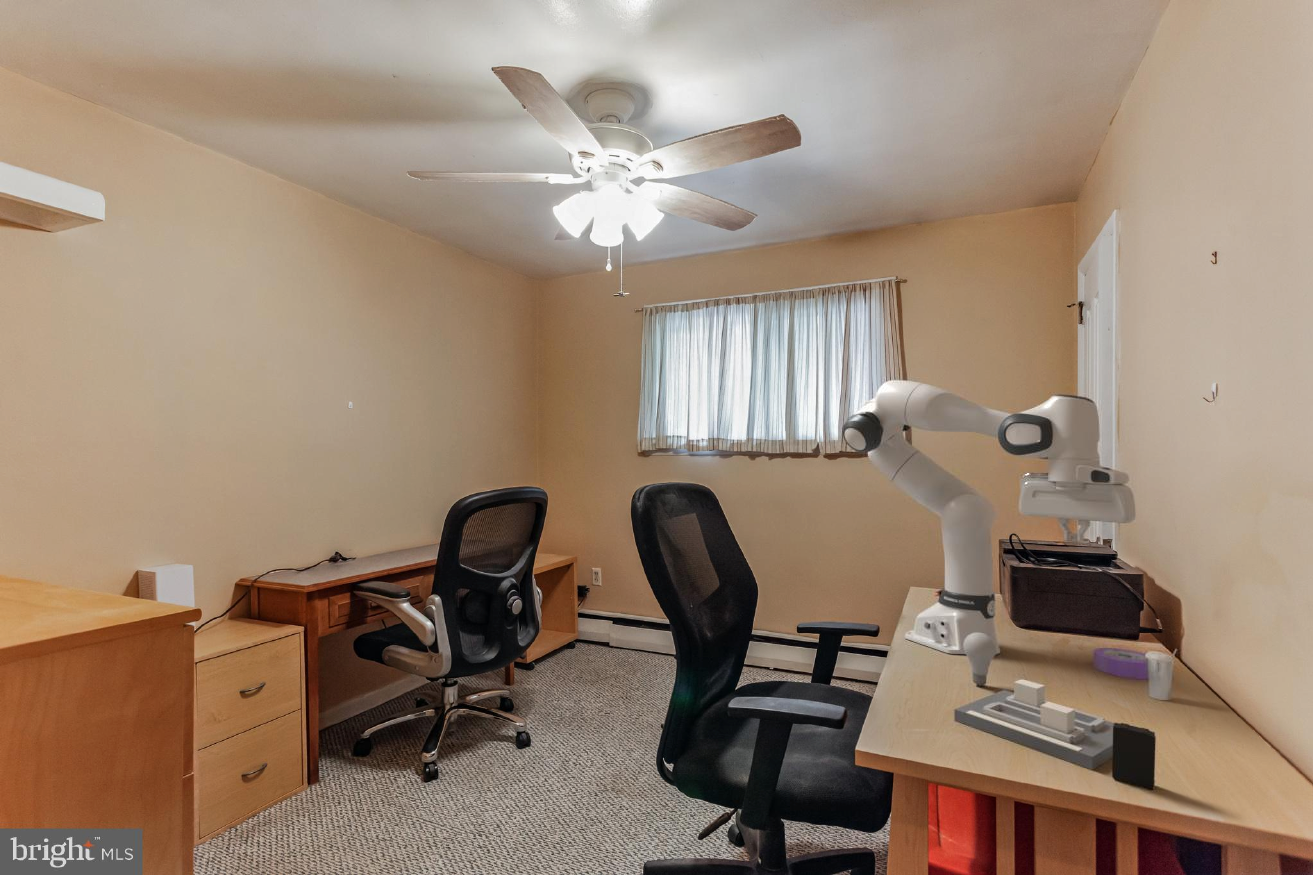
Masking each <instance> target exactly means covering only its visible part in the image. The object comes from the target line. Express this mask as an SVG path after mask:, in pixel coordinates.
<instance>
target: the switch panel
mask: <svg viewBox="0 0 1313 875" xmlns="http://www.w3.org/2000/svg"><path fill="white" fill-rule="evenodd" d="M1047 702H1049V701H1048V700H1045V703H1047ZM953 714H954V719H953V720H954V721H955V722H957V723H961V724H963V725H966V726H969V727H972V728H974V729H977V730H980V731H983V732H985V733H988V734H991V735H994V736H996V737H1000V738H1002V739H1005V740H1008V741H1011V742H1013V743H1016V744H1019V745H1022V746H1024V747H1027V748H1029V749H1032V750H1036V751H1038V752H1041V753H1043V754H1047V755H1049V756H1052V757H1054V758H1057V759H1061V760H1063V761H1065V762H1069V763H1071V764H1075V765H1077V766H1080V767H1082V768H1085V769H1088V770H1090V771H1093V770H1095V769H1097V768H1098V767H1100V766H1102V765H1103V764H1105V763H1106V762H1107V761H1108V762H1109V760H1111V759H1112V756H1113V726H1114V722H1112V721H1109V720H1105V717H1101V716H1099V715H1098V716H1097V715H1095V714H1091V713H1087V712H1084V711H1081V710H1078V709H1075V731H1074V732H1072V733H1070V734H1065V733H1062V732H1059V731H1056V730H1053V729H1050V728H1047V727H1044V726H1041V709H1040V708H1037V707H1034V706H1031V705H1028V704H1024V703H1021V702H1018V701H1015V700H1014V692H1012V691H1009V690H1006V689H1003V690H1000V691H998V692H996V693H995V692H994V693H993V694H990V695H988V696H985V697H982V698H979V699H977V700H975V701H973V702H970V703H967V704H965V705H962V706H959V707H957V708H954V713H953Z"/></svg>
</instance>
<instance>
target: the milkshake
mask: <svg viewBox="0 0 1313 875" xmlns="http://www.w3.org/2000/svg"><path fill="white" fill-rule="evenodd" d="M1177 651H1178V649H1177V648H1175V649H1174V651H1173V653H1172V655H1169V654H1167V653H1165V652H1161V651H1157V650H1154V651H1153V650H1149V651H1148V652H1146V653H1145V658H1146V666H1147V674H1148V679H1147V682H1148V684H1147V685H1148V694H1149V697H1150V698H1152V699H1155V700H1160V701H1170V700H1171V692H1172V682H1173V681H1172V680H1173V679H1172V678H1173V669H1174V661H1175V659H1174V657H1175V655H1176V653H1177Z"/></svg>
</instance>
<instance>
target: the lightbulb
mask: <svg viewBox="0 0 1313 875" xmlns="http://www.w3.org/2000/svg"><path fill="white" fill-rule="evenodd" d="M963 647H964V651H965V653H966V654H965V655H966V656H967V659H968V661H969V663H970V664H969V665H970V670H971V673H972V674H971V675H972V682H973V683H974V684H976V686H978V687H982V686H984V685H986V684H987V675H988V673H989V667H990V664H991V662H992V660H994V657H995V656H996V654H995V653H996V646H995V643H994V642H993V640H992V639H991V638H990V637H989V636H987V635H986V634H983V633H972V634H970V635H968V636H967V637H966V639H965V640H964V644H963Z"/></svg>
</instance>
